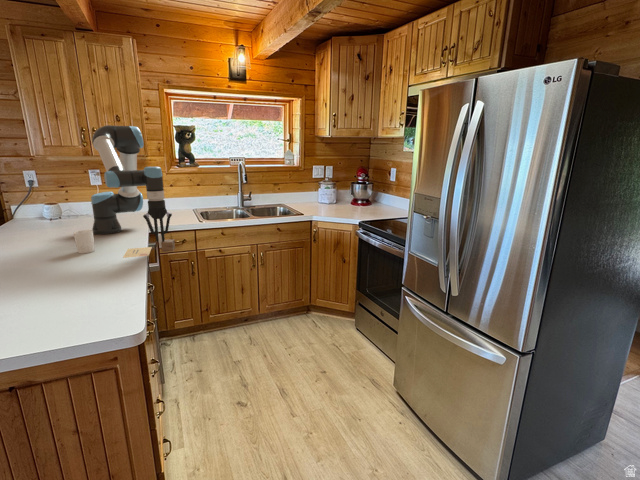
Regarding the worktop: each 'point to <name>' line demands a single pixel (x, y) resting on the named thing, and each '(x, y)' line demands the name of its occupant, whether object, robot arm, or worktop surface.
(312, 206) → the worktop surface
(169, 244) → the walnut block
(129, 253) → the envelope
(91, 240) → the white cup
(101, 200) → the robot arm
